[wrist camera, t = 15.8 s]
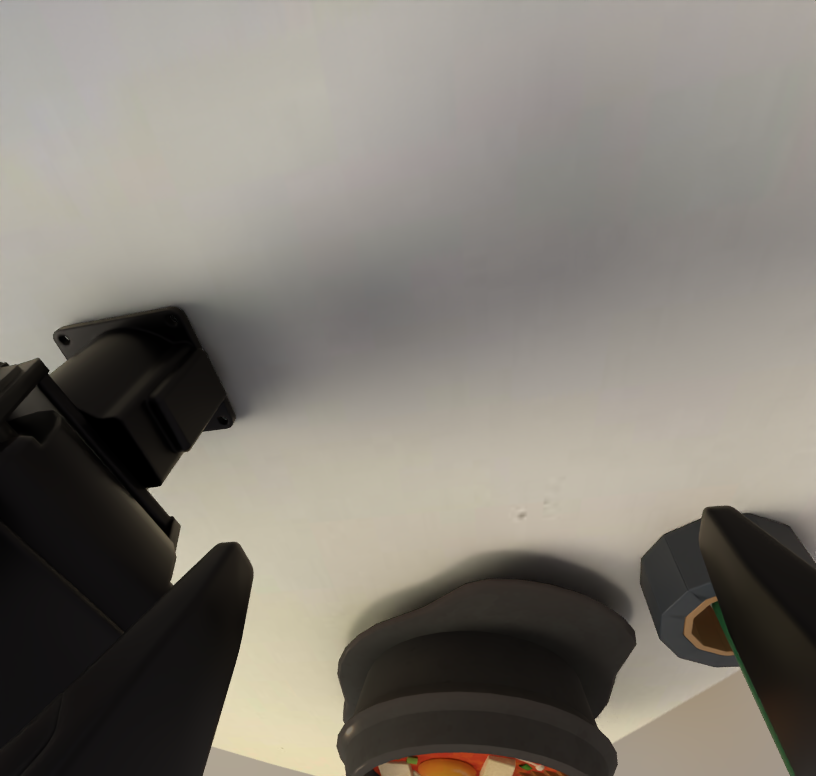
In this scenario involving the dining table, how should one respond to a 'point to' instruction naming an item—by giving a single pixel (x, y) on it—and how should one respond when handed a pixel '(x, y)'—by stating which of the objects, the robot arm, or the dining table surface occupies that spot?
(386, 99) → the dining table surface
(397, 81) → the dining table surface
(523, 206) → the dining table surface
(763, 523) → the tape roll
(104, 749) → the robot arm
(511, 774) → the casserole
